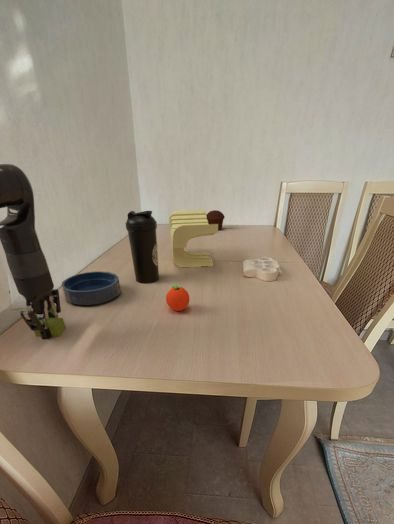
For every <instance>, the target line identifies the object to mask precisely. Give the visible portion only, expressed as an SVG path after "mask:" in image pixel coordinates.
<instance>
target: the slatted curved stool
mask: <svg viewBox="0 0 394 524" xmlns="http://www.w3.org/2000/svg"><path fill="white" fill-rule="evenodd" d="M206 215H207V213H206V209H187V210H186V209H185V210H175V211H172V212H171V213H170V215H169V217H168V225H169V226H168V228H169V229H168V230H169V233H170V244H171V245H170V247H171V254H172V258H173V259H172V260H173V262H174V264H175V266H177V267H179V268H181V267H191V268H202V267H201V266H208V267H214V260H213V259H212V257H211V255H210V253H209V252H190V251H186V250H185V249H186V248H187V244H188V243H189V241H190V240H192V239H195V238H199V237H200V238H201V237H207V236H208V237H209V236H214V235H216V234H217V233H219V231H218V224H208V220H207V216H206Z"/></svg>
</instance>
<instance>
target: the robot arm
mask: <svg viewBox="0 0 394 524" xmlns="http://www.w3.org/2000/svg"><path fill="white" fill-rule="evenodd" d="M34 195H35V194H34V189H33V186H32V184H31V181H30V179H29V178H28V175H26V173H25V172H24V171H23V169H21V168H20V167H19V166H17V165H15V164H12V163H0V209H4V208H6V216H5V217H4V219H2V220H1V221H0V245H1V246H2V249H3V252H4V254H5V259H6V263H7V266H8V268H9V272H10V274H11V276H12V279H13V282H14V285H15V287H16V290H17V292H18V294H19V295H21V296H22V297H24V298H25V305H26V308H25V310H21V311H20V312H19V313H20V314H19V315H20V317H21V318H22V319H23V321H24V322H25V323H26V325H27V326H28V328H30V329H29V330H31V331H32V332H34V331H39V332H40V335H41V336H40V338H41V340H49V339H51V338H53V337H52V336H51V333H50V330H49V328H48V322H47V319H48V318H59V314H61V312H62V307H61V300H60V290H59V289H55V284H54V281H53V278H52V274H51V272H50V267H49V265H48V262H47V259H46V256H45V253H44V252H43V249H42V247H41V242H40V239H39V236H38V233H37V229H36V214H35V213H36V212H35V196H34ZM39 320H42V321H43V324H41V322H40V321H39Z"/></svg>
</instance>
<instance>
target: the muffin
mask: <svg viewBox="0 0 394 524" xmlns="http://www.w3.org/2000/svg"><path fill="white" fill-rule="evenodd" d="M206 216H207V220H208V224H218V232H219V231H222V229H223V224H224V220H225V214H224V213H223V212H221V211H220V210H210V211H209V212H207V213H206Z"/></svg>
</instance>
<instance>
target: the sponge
mask: <svg viewBox="0 0 394 524" xmlns="http://www.w3.org/2000/svg"><path fill="white" fill-rule="evenodd" d="M39 321H40V322H41V324H43V321H42V320H39ZM47 322H48V328H49V330H50V333H51V336H52V337H51V338H58V337H59V338H60V337H61V335H62V334H63V333H64V332H65V331H66V330H67V326H66V323H65V319H64V317H58V318H48V319H47ZM33 332H34V335H35V337H41V335H40V332H39V331H33Z"/></svg>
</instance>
